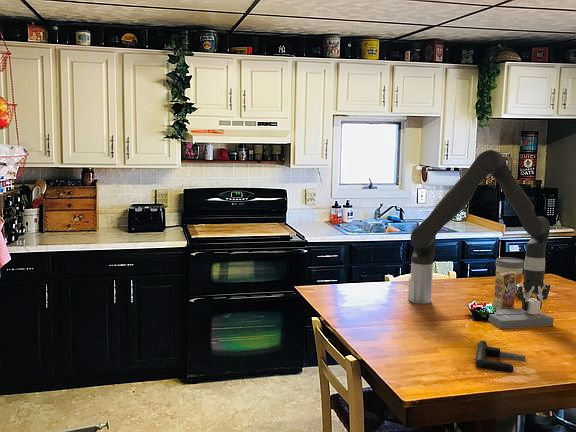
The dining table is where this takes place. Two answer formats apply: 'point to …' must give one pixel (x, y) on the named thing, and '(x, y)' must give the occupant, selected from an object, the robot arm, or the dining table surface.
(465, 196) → the robot arm
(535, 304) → the slider knob
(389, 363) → the dining table surface
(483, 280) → the dining table surface
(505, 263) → the reusable coffee cup
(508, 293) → the candy box
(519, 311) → the console board
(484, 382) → the dining table surface
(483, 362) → the door handle
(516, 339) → the dining table surface
